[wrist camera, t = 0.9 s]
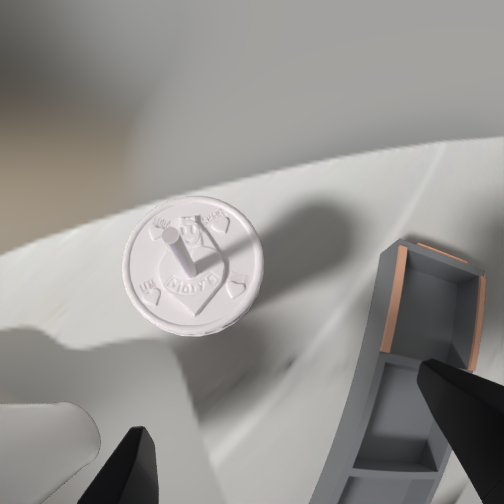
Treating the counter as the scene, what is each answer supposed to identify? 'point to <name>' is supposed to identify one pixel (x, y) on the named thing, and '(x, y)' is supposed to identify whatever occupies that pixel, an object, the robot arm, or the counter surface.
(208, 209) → the smoothie
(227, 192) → the counter surface
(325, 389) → the counter surface
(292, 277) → the counter surface
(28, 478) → the drinking glass
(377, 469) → the bottle caddy
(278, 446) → the counter surface
